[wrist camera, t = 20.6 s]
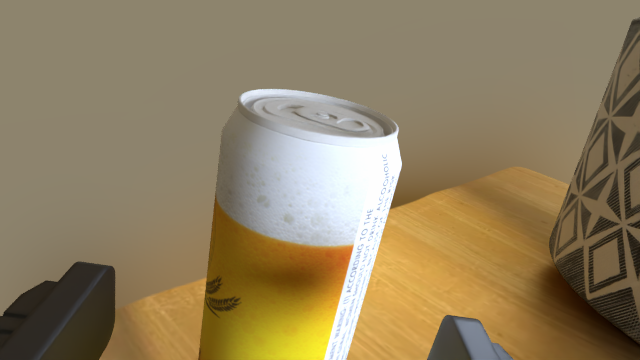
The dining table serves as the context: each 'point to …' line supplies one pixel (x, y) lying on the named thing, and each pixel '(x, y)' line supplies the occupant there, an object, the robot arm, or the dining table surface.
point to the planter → (607, 202)
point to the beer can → (295, 225)
